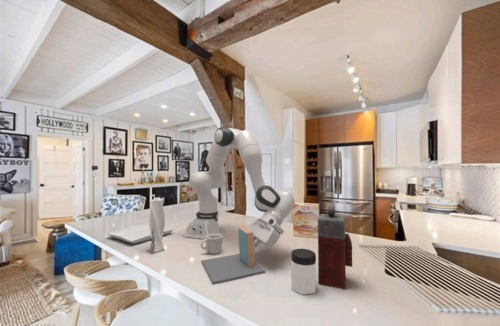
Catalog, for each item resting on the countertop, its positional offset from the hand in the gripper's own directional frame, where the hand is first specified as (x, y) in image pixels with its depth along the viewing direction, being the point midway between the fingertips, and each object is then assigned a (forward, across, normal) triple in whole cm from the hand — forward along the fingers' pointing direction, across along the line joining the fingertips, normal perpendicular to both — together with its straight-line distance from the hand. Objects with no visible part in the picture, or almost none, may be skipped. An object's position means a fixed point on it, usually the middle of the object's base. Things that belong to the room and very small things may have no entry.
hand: (250, 247), depth 94 cm
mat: (+11, 0, -1) cm, 11 cm away
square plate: (+37, -62, -26) cm, 77 cm away
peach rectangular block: (+5, 0, +3) cm, 6 cm away
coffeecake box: (-28, -21, +38) cm, 52 cm away
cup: (+14, -19, -4) cm, 23 cm away
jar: (-1, +25, +11) cm, 28 cm away
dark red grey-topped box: (-11, +26, +21) cm, 35 cm away
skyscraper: (+31, -34, -21) cm, 51 cm away
